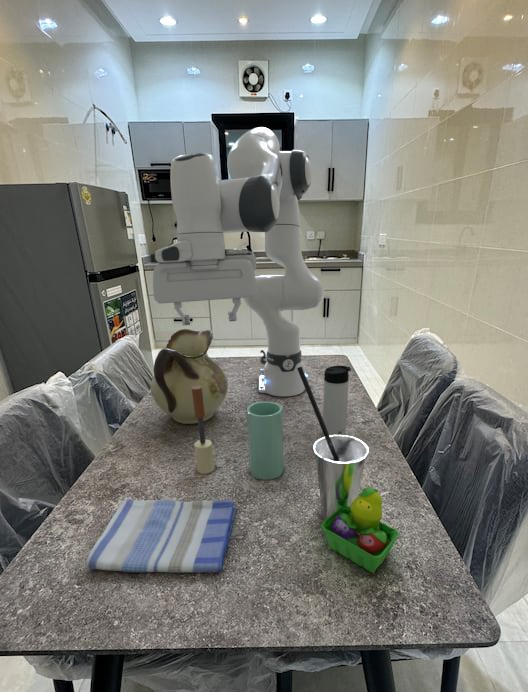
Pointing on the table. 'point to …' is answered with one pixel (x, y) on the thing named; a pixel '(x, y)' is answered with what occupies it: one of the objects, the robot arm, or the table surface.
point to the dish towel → (165, 537)
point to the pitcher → (187, 376)
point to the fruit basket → (361, 531)
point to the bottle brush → (202, 435)
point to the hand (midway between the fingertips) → (209, 322)
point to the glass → (336, 463)
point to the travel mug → (335, 399)
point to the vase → (265, 439)
